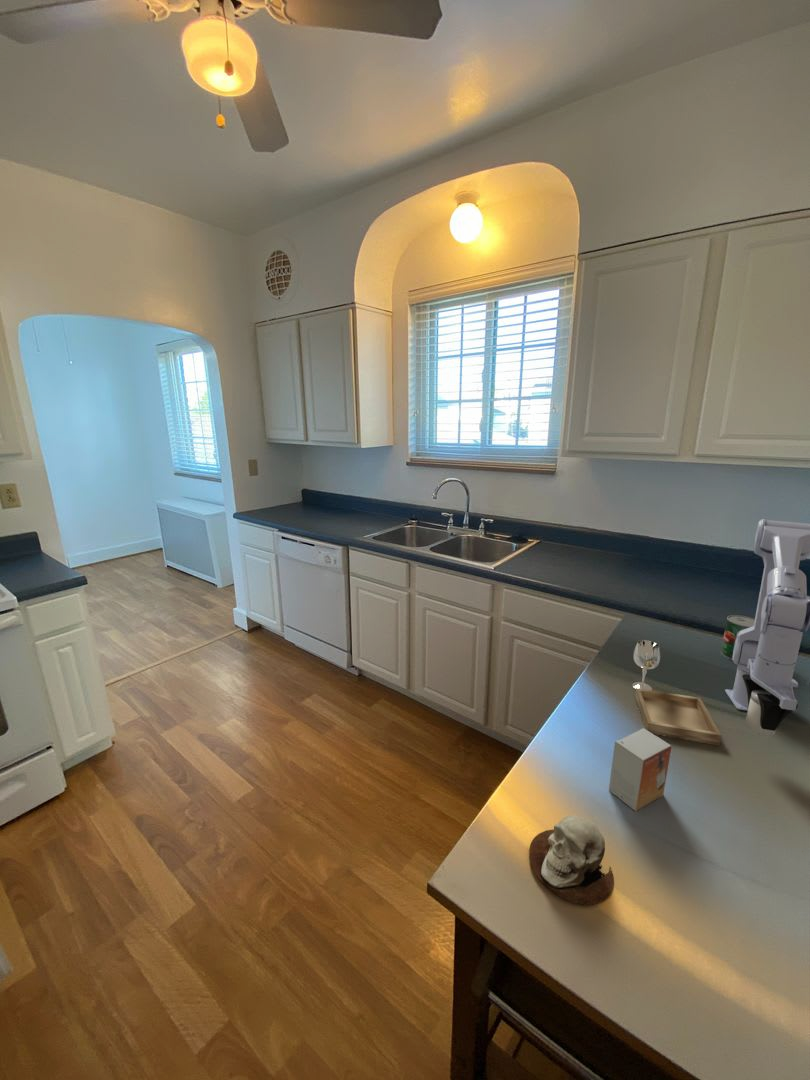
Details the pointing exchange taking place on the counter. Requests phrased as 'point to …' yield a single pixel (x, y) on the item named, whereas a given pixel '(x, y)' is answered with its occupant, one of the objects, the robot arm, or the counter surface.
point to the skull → (572, 861)
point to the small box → (639, 768)
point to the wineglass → (646, 659)
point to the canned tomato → (734, 632)
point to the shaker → (756, 715)
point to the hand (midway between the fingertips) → (761, 720)
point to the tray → (677, 716)
